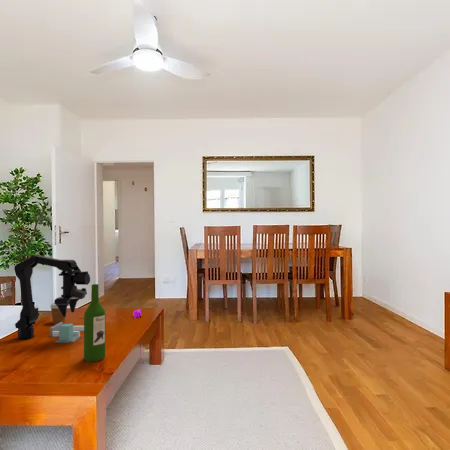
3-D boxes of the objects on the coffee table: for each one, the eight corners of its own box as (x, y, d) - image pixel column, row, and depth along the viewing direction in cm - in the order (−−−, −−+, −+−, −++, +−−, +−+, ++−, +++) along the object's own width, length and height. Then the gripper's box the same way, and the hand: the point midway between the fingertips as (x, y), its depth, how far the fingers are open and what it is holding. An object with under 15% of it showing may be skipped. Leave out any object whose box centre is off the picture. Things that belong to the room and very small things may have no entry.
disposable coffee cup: (46, 324, 205) (46, 304, 205) (59, 320, 214) (59, 301, 214) (58, 326, 201) (58, 305, 202) (71, 322, 210) (71, 302, 210)
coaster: (55, 342, 172) (55, 341, 172) (63, 337, 181) (63, 335, 181) (73, 342, 172) (73, 341, 172) (80, 337, 181) (80, 335, 181)
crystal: (132, 316, 224) (132, 309, 224) (141, 315, 226) (141, 308, 226) (133, 318, 219) (133, 311, 219) (142, 317, 221) (142, 310, 221)
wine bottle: (92, 363, 145) (92, 287, 146) (79, 359, 150) (79, 285, 151) (109, 356, 153) (110, 284, 153) (96, 353, 158) (97, 282, 158)
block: (59, 340, 174) (59, 326, 174) (63, 337, 179) (63, 323, 179) (68, 340, 174) (68, 326, 174) (73, 337, 179) (73, 323, 179)
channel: (50, 336, 182) (50, 328, 182) (60, 330, 193) (60, 322, 193) (78, 336, 182) (78, 328, 182) (87, 330, 193) (87, 322, 193)
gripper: (76, 287, 168) (76, 319, 168) (91, 281, 187) (91, 310, 187) (53, 287, 168) (53, 319, 168) (71, 281, 187) (70, 310, 187)
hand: (68, 314), depth 177 cm, fingers open, 9 cm apart
